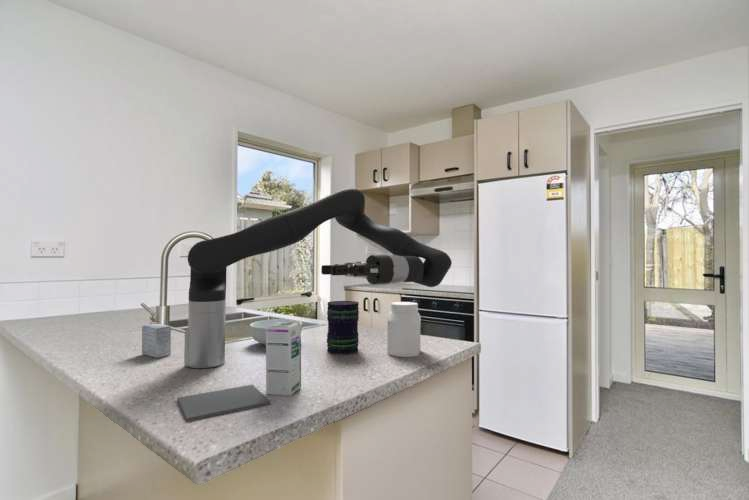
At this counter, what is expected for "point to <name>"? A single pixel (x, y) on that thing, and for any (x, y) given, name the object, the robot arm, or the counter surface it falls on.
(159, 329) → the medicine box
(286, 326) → the syrup box
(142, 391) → the counter surface
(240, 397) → the mat
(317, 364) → the counter surface
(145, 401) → the counter surface
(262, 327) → the cereal bowl
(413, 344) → the jar
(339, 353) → the storage jar
